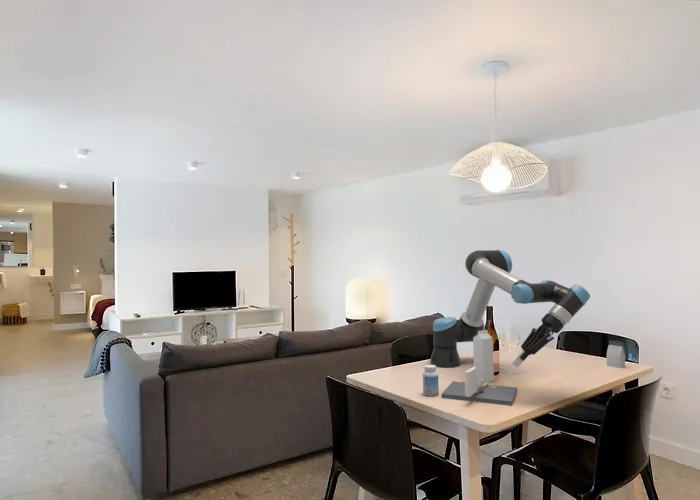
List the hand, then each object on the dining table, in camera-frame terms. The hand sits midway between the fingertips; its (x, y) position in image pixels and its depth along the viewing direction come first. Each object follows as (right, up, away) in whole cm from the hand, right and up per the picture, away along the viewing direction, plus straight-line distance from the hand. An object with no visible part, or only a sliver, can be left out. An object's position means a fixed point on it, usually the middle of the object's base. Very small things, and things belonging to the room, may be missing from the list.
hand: (514, 364), depth 174 cm
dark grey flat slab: (-10, -14, +10) cm, 20 cm away
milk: (-3, -15, +31) cm, 34 cm away
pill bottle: (-29, -15, +11) cm, 35 cm away
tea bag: (+68, -14, +53) cm, 88 cm away
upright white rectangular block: (-11, -12, +7) cm, 18 cm away
